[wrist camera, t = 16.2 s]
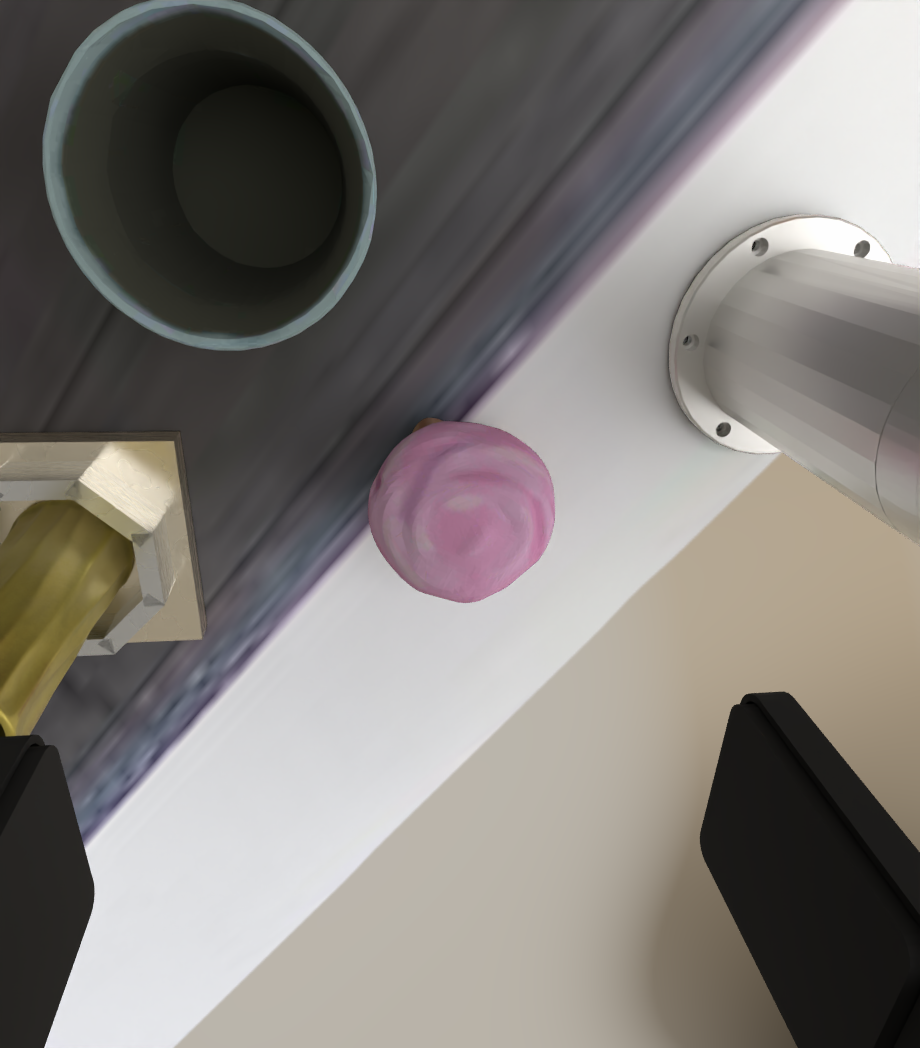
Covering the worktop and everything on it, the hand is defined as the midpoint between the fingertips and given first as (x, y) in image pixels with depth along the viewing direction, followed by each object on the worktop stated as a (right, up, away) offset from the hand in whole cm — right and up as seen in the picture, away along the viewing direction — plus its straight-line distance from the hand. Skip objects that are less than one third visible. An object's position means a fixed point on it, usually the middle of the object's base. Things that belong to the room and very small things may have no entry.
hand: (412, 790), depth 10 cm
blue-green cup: (-9, +20, +23) cm, 32 cm away
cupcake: (0, +7, +31) cm, 32 cm away
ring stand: (-20, +3, +30) cm, 36 cm away
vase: (-20, +2, +29) cm, 35 cm away
